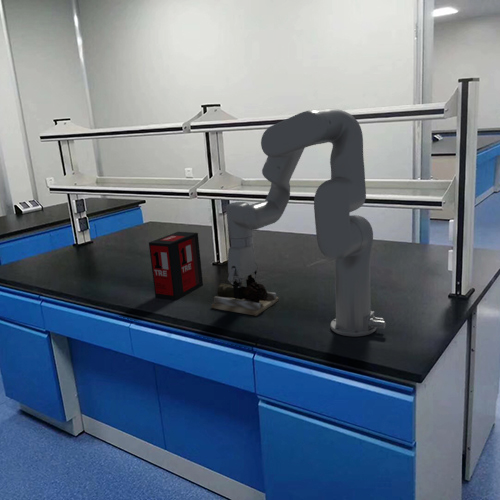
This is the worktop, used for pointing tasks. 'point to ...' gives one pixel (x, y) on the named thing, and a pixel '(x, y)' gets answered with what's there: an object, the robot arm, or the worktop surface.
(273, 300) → the pipe cradle
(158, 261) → the cleaning product box
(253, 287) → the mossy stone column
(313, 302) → the worktop surface
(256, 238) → the worktop surface
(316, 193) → the robot arm
